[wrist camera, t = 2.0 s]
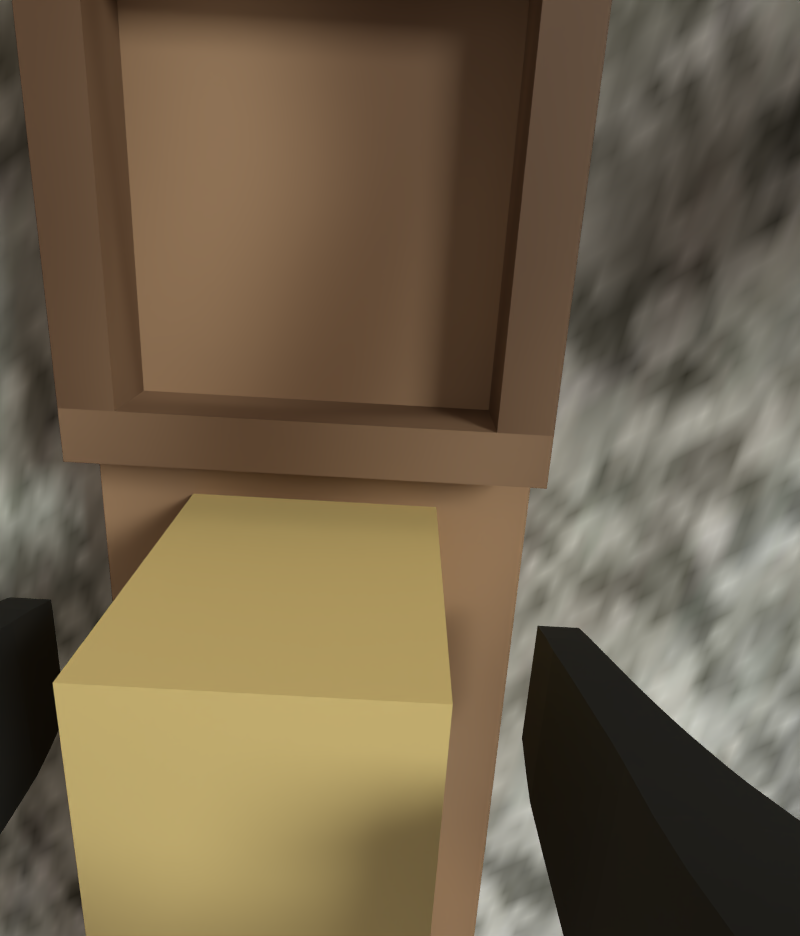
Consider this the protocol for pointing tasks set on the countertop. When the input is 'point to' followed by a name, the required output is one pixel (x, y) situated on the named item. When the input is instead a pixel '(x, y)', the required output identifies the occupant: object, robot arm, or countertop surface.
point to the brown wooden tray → (321, 281)
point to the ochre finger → (264, 726)
